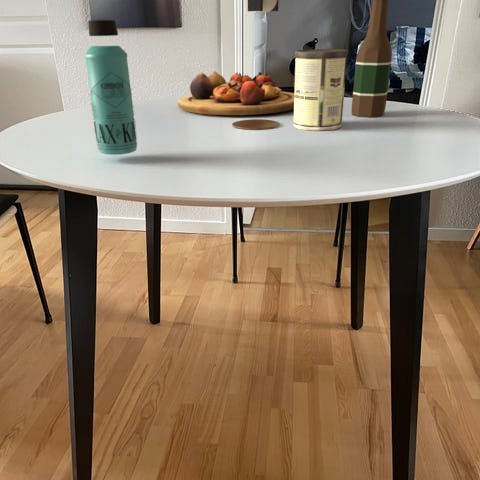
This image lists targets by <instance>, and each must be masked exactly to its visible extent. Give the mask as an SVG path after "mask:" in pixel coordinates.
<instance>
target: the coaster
mask: <svg viewBox="0 0 480 480" xmlns="http://www.w3.org/2000/svg"><path fill="white" fill-rule="evenodd" d="M279 126H280V122H278V121H277V120H273V119H262V118H261V119H259V118H256V119H253V118H252V119H241V120H236V121H233V122H232V127H233V128H235V129H237V130H244V131H245V130H246V131H261V130H263V131H264V130H270V129H275V128H278V127H279Z"/></svg>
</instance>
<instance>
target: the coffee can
mask: <svg viewBox="0 0 480 480" xmlns="http://www.w3.org/2000/svg"><path fill="white" fill-rule="evenodd" d="M348 55H349V50H348V49H342V48H341V49H340V48H315V49H313V48H312V49H300V50H296V51H295V52H294V56H295V67H294V92H293V93H294V94H295V95H294V109H293V123H292V124H293V128H295V129H297V130H302V131H313V132H314V131H315V132H316V131H319V132H320V131H321V132H323V131H324V132H325V131H332V130H339V129H340V128H342V125H343V124H342V123H343V114H344V113H343V111H344V98H345V88H346V87H345V85H346V75H347V73H346V72H347V63H348V62H347V61H348Z"/></svg>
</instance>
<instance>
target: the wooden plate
mask: <svg viewBox="0 0 480 480" xmlns="http://www.w3.org/2000/svg"><path fill="white" fill-rule="evenodd" d="M189 90H190V94H188V95H184V96H181V97H180V98H179V99H178V101H177V106H178V108H179V109H180V110H181V111H184V112H188V113H194V114H201V115H212V116H213V115H214V116H215V115H217V116H248V115H249V116H251V115H253V116H254V115H265V114H275V113H282V112H288V111H292V110H294V95H295V94H294V93H295V92H289V91H282V89H281V88H279V87H278V86H276V82H274V81H273V78H272V76H271V75H270V74H267V73H266V74H263V73H262V72H261V71H259V72H258V74H257V75H254V77H250V76H249V75H246V74H243V75H242V73H240V72H239V73H238V72H235V73H234V74H232V75H231V76H230V79H229V81H226V79H225V77H224V76H223V75H222V74H220V73H218V72H217V71H213V72H212V73H211V74H209V75H208V76H207V74H205V73H204V72H200V73H198V74H197V75H196V76H195V77H194V78H193V79H192V80H191V82H190V85H189Z"/></svg>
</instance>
